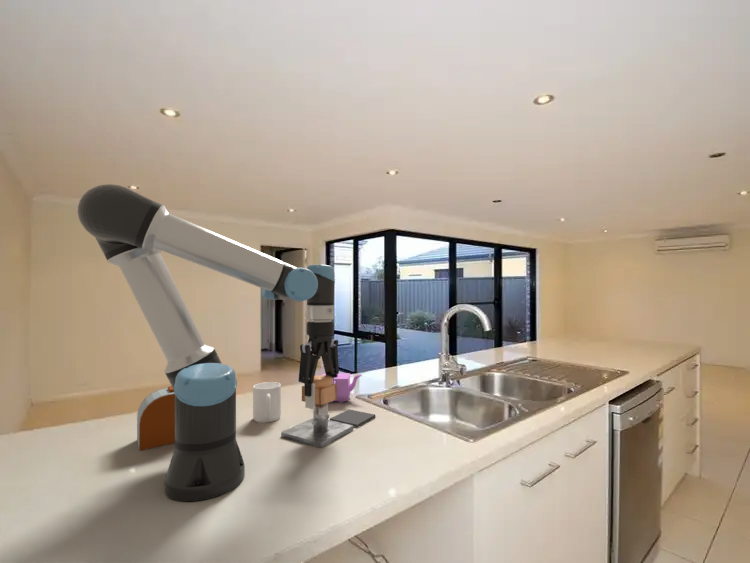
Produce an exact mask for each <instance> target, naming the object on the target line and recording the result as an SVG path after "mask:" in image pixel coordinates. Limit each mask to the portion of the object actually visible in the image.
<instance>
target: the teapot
mask: <svg viewBox="0 0 750 563" xmlns="http://www.w3.org/2000/svg"><path fill="white" fill-rule="evenodd" d="M322 375H326V373H325V372H323V373H322ZM362 376H363V375H362V374H357V375H355V376H354V377H353V379H352V382H351V373H350V372H349V373H347V372H346V373H338V374H337V377H336V378H334V384H337V399H335V400H333V401H332V402H337V403H339V404H341V403H345V402H349V400H350V397H351V392H352V391H353V390H354V389H355V387H356V384H357V381H358V379H359V378H360V377H362ZM330 403H331V402H328V404H330Z"/></svg>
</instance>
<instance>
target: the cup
mask: <svg viewBox="0 0 750 563" xmlns="http://www.w3.org/2000/svg"><path fill="white" fill-rule="evenodd" d="M281 393H282V384H281V383H280V382H275V381H267V382H260V383H256V384H254V385H253V386H252V418H253V420H254V421H255V422H257V423H260V424H262V423H263V424H264V423H265V422H267V423H271V422H275V421H278V420H279V419H280V418H281V415H282V394H281Z"/></svg>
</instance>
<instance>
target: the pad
mask: <svg viewBox="0 0 750 563" xmlns="http://www.w3.org/2000/svg"><path fill="white" fill-rule="evenodd" d="M375 418H376V414H375V413H369V412H365V411H364V412H363V411H358V410H354V409H347V410H345V411H343V412H341V413H339V414H337V415H334V416H331V417H329V420H331V421H336V422H340V423H344V424H349V425H353V428H359V427H361V426H362V425H364V424H366V423H368V422H369V421H371V420H373V419H375Z"/></svg>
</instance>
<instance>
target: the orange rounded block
mask: <svg viewBox="0 0 750 563" xmlns="http://www.w3.org/2000/svg"><path fill="white" fill-rule="evenodd" d="M136 420H137V421H136V423H137V424H136V441H137V446H138V451H143V450H148V449H153V448H157V447H162V446H166V445H171V444H175V393H174V389H173V387H172V386H171V385H169V386H167V387H165V388H160V389H157V390H155V391H152V392H151V393H149V394H148V395H147V396H146V397H145V398H144V399H143V400H142V402H141V403H140V405H139V407H138V410H137V414H136Z"/></svg>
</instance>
